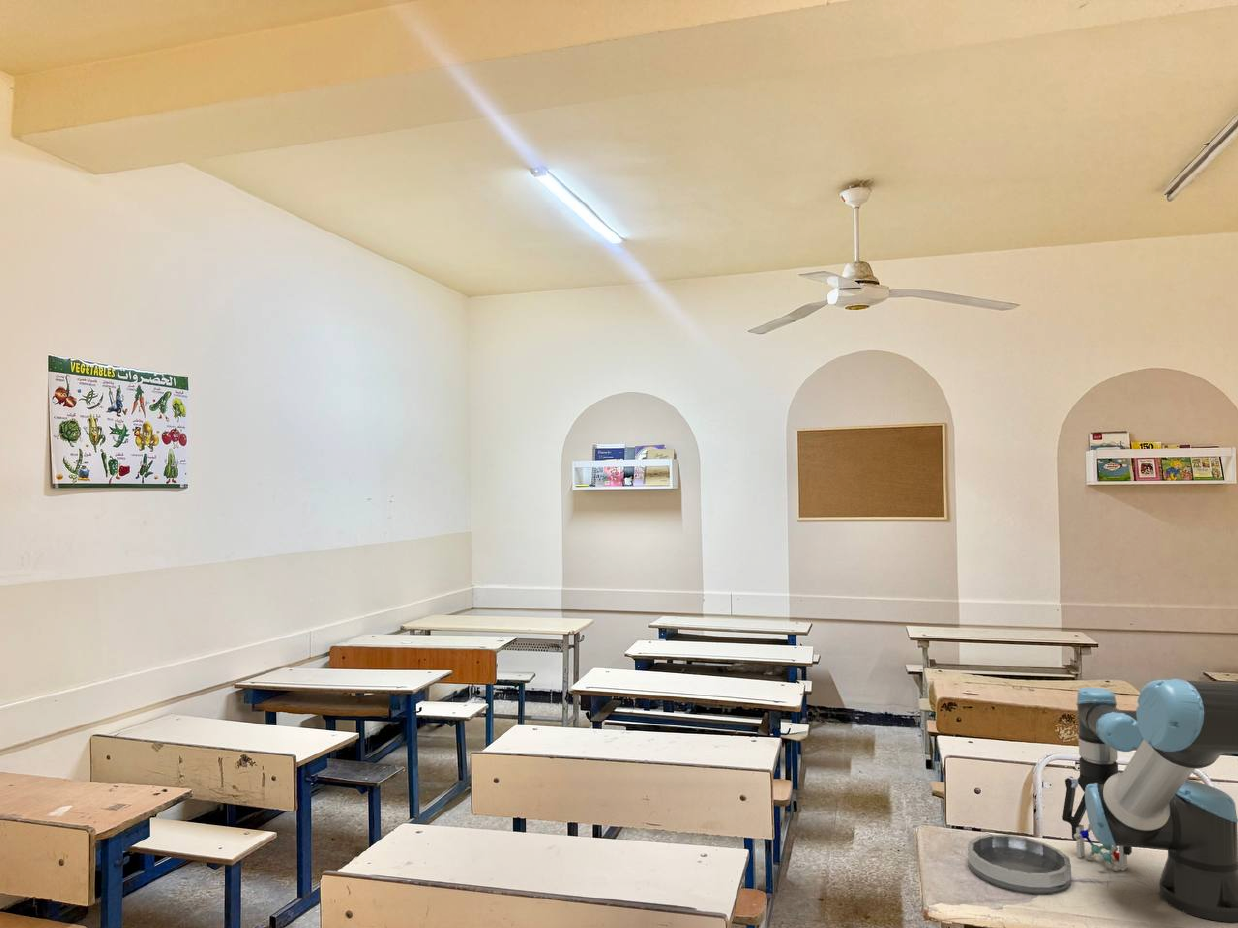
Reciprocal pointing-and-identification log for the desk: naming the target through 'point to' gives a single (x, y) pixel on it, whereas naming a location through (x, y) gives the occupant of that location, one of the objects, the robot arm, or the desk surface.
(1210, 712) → the robot arm
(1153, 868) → the desk surface
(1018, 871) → the shallow grey dish
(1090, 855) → the molecular model
